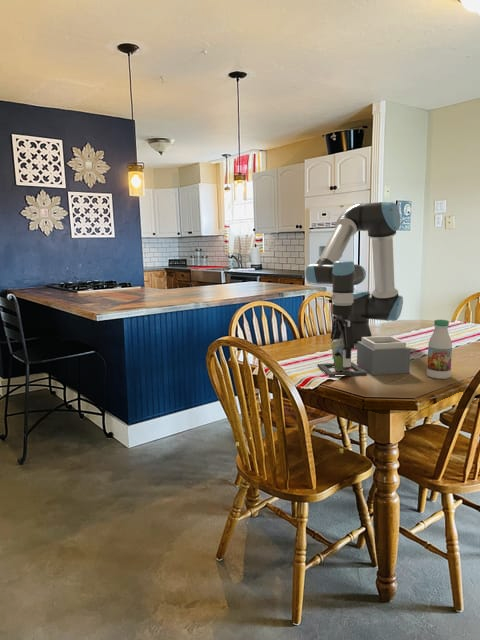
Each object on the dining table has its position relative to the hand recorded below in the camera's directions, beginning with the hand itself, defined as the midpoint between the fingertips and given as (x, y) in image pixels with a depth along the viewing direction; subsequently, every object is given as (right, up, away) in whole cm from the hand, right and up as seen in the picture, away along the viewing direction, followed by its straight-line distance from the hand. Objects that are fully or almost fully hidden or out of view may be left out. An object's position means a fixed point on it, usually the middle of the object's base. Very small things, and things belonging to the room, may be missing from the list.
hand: (341, 362), depth 174 cm
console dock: (+16, -2, +3) cm, 16 cm away
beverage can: (0, -3, +1) cm, 3 cm away
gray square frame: (0, -3, +1) cm, 3 cm away
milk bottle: (+33, -4, -8) cm, 34 cm away
